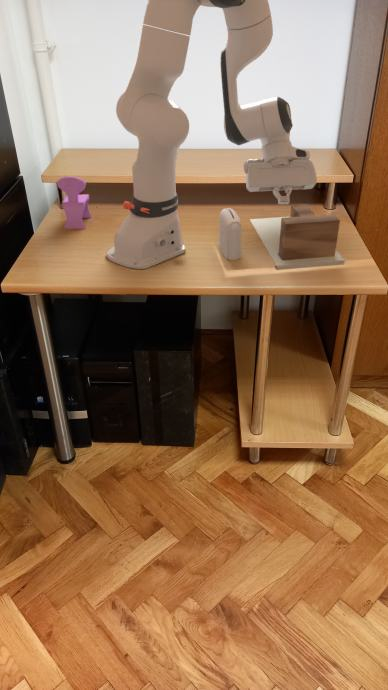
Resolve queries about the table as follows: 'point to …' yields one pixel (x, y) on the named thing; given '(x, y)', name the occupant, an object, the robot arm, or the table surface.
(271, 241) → the board
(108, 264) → the table surface
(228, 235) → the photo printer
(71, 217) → the toy chair
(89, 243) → the table surface
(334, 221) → the t block
